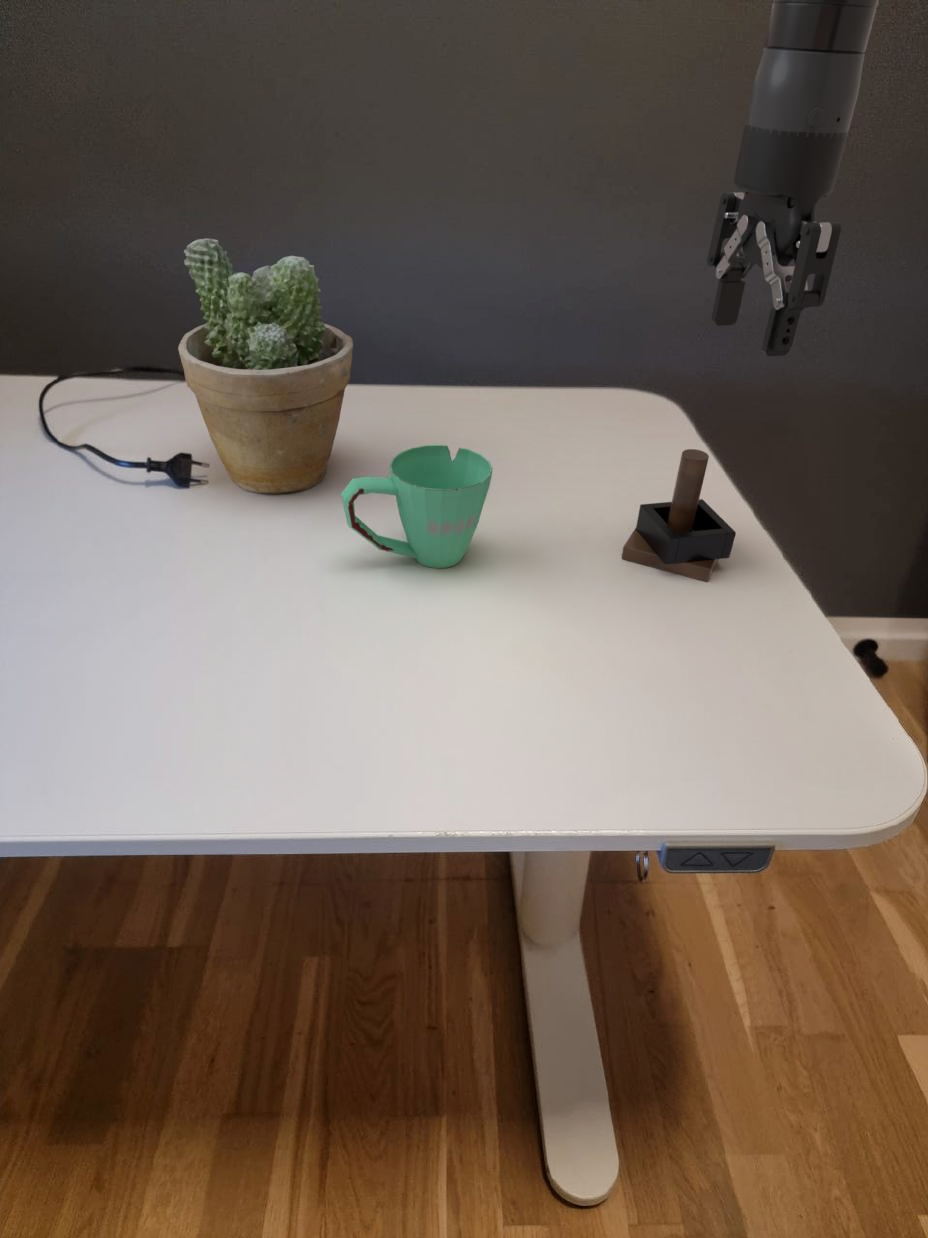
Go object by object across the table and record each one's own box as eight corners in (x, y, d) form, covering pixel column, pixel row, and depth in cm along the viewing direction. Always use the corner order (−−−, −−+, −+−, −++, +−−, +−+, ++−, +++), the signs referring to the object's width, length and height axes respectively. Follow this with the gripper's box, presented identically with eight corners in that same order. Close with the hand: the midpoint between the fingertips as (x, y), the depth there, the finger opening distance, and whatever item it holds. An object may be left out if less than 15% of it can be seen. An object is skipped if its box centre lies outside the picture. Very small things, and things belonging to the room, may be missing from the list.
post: (725, 542, 93) (749, 447, 87) (707, 582, 87) (732, 483, 80) (644, 521, 96) (662, 428, 90) (621, 558, 89) (638, 461, 83)
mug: (467, 526, 93) (471, 440, 88) (500, 573, 86) (508, 482, 80) (333, 544, 89) (329, 455, 83) (357, 596, 82) (353, 502, 76)
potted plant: (361, 442, 110) (356, 231, 95) (350, 513, 95) (342, 275, 80) (215, 438, 109) (187, 224, 94) (180, 508, 94) (141, 267, 79)
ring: (729, 558, 88) (736, 532, 86) (665, 564, 86) (670, 538, 84) (696, 523, 93) (702, 498, 92) (635, 529, 92) (640, 504, 90)
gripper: (901, 134, 60) (834, 364, 70) (789, 113, 71) (744, 313, 81) (807, 132, 58) (751, 368, 68) (707, 111, 70) (671, 316, 79)
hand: (747, 338), depth 74 cm, fingers open, 8 cm apart
